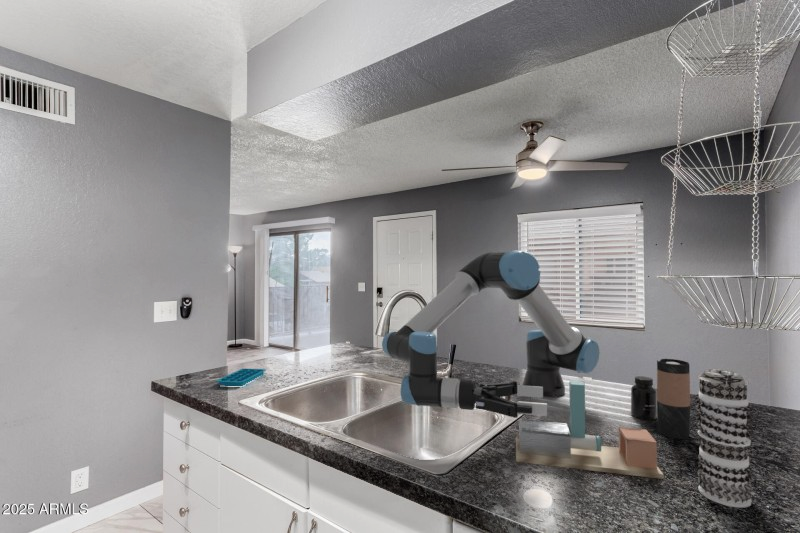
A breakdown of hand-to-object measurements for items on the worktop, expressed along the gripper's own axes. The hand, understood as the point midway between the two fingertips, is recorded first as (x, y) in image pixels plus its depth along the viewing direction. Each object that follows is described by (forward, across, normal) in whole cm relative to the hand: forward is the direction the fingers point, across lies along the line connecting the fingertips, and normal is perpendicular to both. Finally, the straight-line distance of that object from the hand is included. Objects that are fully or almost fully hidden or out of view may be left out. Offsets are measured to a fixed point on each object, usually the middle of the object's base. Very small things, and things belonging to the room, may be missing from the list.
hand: (545, 400), depth 99 cm
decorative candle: (+34, +10, -14) cm, 37 cm away
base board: (+8, 0, -13) cm, 16 cm away
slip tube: (+4, 0, -11) cm, 12 cm away
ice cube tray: (-117, -37, -14) cm, 123 cm away
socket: (+20, 0, -12) cm, 24 cm away
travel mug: (+35, -22, -14) cm, 44 cm away
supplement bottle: (+31, -34, -14) cm, 49 cm away
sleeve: (0, 0, -12) cm, 12 cm away
